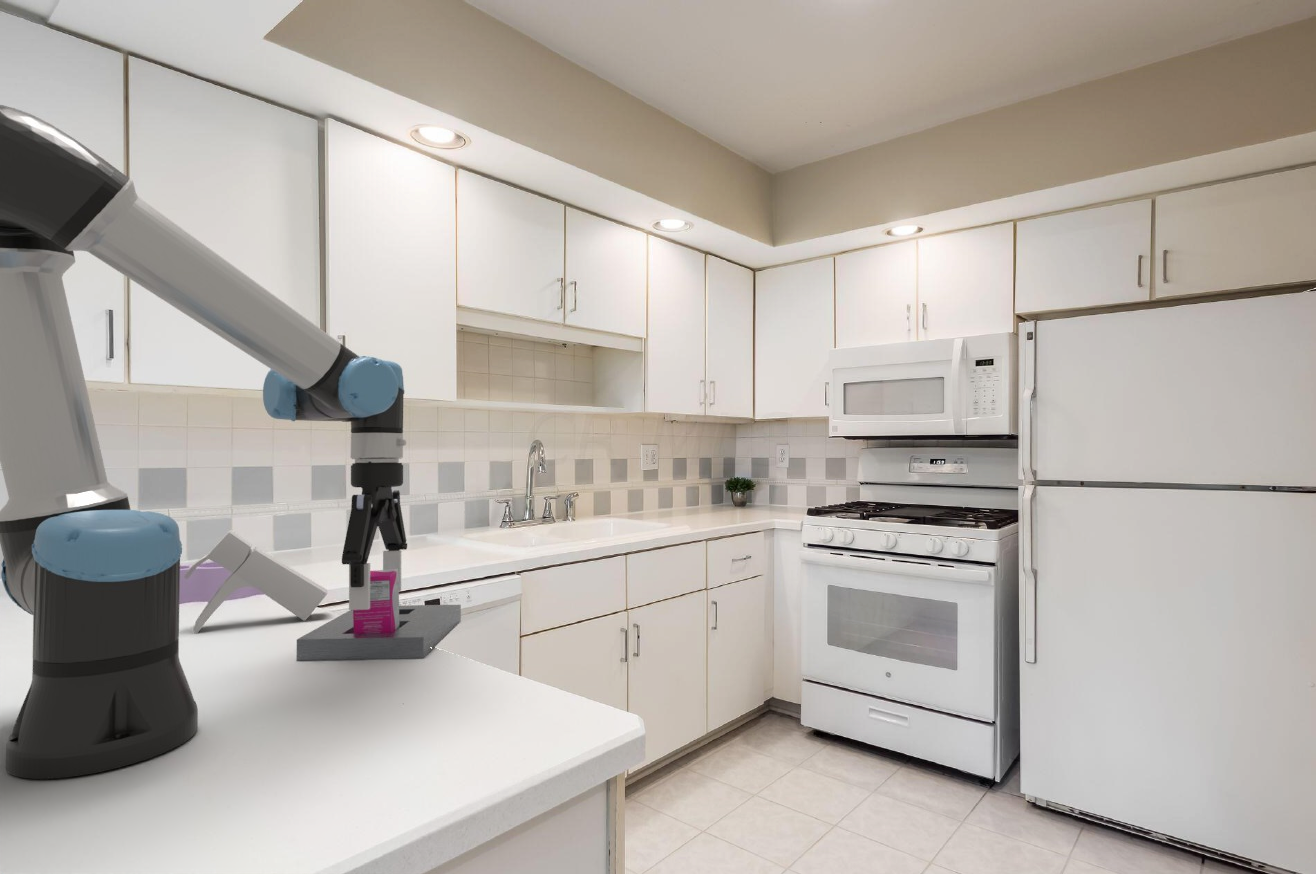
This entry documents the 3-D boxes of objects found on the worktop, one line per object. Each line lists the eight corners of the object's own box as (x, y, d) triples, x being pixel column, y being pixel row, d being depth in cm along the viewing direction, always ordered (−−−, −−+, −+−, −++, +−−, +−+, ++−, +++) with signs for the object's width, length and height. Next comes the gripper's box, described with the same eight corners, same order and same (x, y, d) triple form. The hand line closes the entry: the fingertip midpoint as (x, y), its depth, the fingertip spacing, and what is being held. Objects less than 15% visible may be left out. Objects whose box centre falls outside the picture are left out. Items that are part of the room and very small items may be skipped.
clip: (152, 609, 134) (152, 574, 135) (150, 599, 144) (150, 566, 145) (268, 596, 147) (268, 563, 147) (259, 587, 157) (259, 557, 157)
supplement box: (361, 643, 108) (361, 570, 109) (400, 641, 109) (401, 568, 110) (351, 653, 102) (351, 576, 103) (393, 651, 104) (393, 574, 104)
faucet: (328, 592, 125) (228, 527, 117) (262, 672, 119) (152, 609, 112) (325, 587, 130) (229, 524, 123) (262, 663, 125) (157, 602, 117)
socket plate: (423, 658, 100) (423, 637, 100) (296, 660, 99) (296, 639, 99) (460, 621, 122) (460, 604, 122) (357, 623, 121) (357, 606, 121)
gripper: (371, 461, 94) (371, 617, 94) (425, 460, 119) (425, 584, 119) (316, 462, 94) (315, 618, 94) (381, 461, 119) (381, 584, 118)
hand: (376, 599), depth 106 cm, fingers open, 13 cm apart
